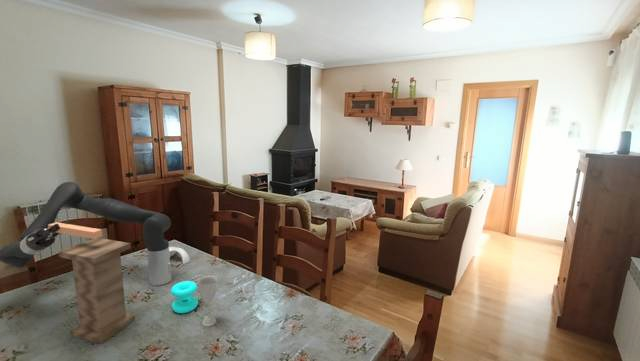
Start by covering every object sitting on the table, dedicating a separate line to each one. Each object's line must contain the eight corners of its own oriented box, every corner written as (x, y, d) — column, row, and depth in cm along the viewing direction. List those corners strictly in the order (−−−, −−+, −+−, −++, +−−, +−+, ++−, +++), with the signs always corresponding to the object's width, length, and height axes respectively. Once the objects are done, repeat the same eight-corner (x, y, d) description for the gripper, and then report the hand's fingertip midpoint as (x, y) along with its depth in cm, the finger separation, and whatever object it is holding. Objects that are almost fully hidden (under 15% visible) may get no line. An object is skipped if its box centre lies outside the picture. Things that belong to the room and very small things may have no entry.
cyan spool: (165, 288, 125) (185, 277, 134) (166, 310, 127) (186, 298, 136) (182, 294, 121) (202, 283, 130) (184, 317, 123) (203, 304, 132)
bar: (48, 231, 113) (47, 224, 112) (57, 228, 116) (56, 222, 115) (94, 239, 107) (93, 232, 106) (102, 236, 110) (101, 229, 109)
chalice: (222, 319, 122) (221, 277, 119) (211, 329, 116) (209, 285, 113) (207, 314, 125) (205, 273, 121) (195, 325, 118) (193, 281, 115)
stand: (69, 334, 111) (58, 251, 105) (105, 312, 124) (97, 237, 118) (103, 344, 107) (93, 258, 101) (137, 320, 120) (130, 243, 114)
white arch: (149, 258, 174) (148, 246, 173) (167, 251, 185) (166, 239, 184) (178, 267, 164) (177, 255, 163) (195, 259, 175) (195, 247, 174)
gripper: (10, 239, 111) (36, 221, 105) (53, 227, 124) (78, 210, 119) (20, 257, 111) (46, 240, 106) (61, 243, 125) (87, 227, 119)
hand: (63, 224), depth 112 cm, fingers closed on bar, 3 cm apart
